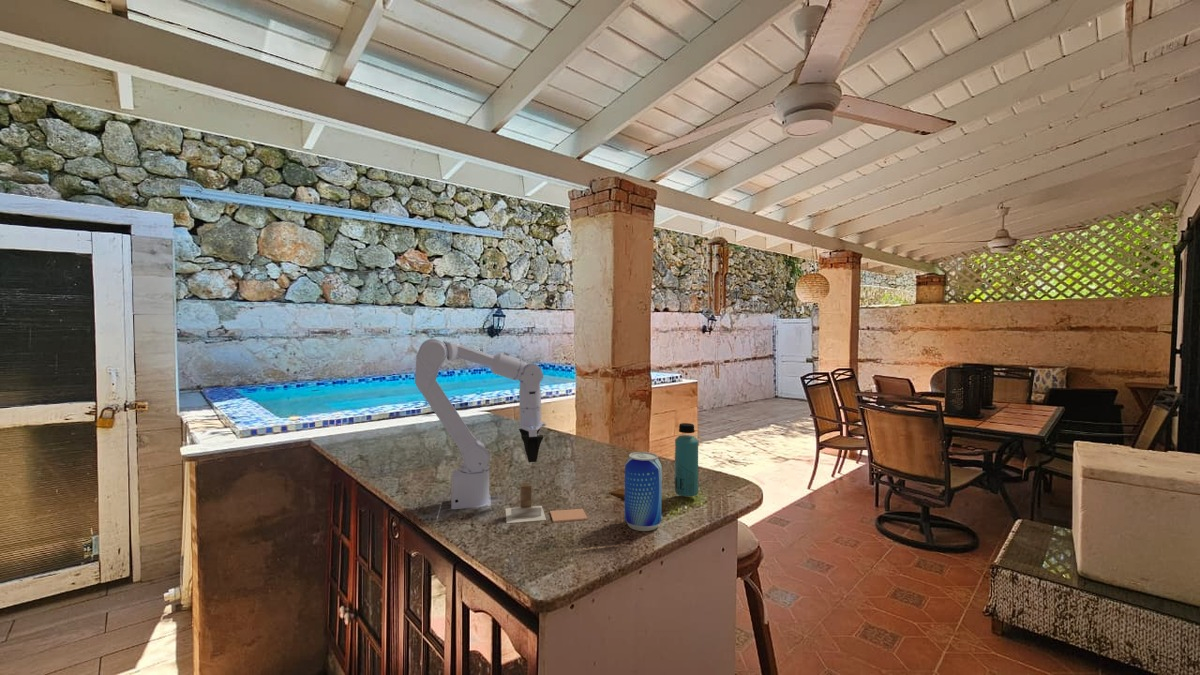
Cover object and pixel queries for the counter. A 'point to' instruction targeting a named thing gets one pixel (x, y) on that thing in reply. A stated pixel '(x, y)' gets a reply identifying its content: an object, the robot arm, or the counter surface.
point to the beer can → (643, 491)
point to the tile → (568, 515)
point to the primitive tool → (622, 494)
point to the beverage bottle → (686, 462)
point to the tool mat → (523, 519)
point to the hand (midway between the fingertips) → (531, 457)
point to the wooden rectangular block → (525, 504)
